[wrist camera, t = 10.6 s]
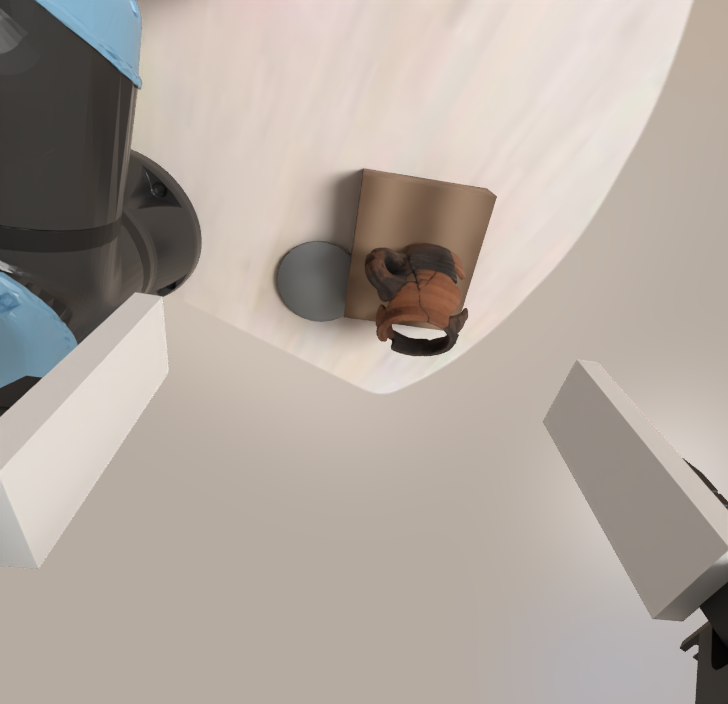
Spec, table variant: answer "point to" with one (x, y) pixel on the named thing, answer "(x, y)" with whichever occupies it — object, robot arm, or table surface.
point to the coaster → (315, 280)
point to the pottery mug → (417, 295)
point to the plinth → (414, 230)
